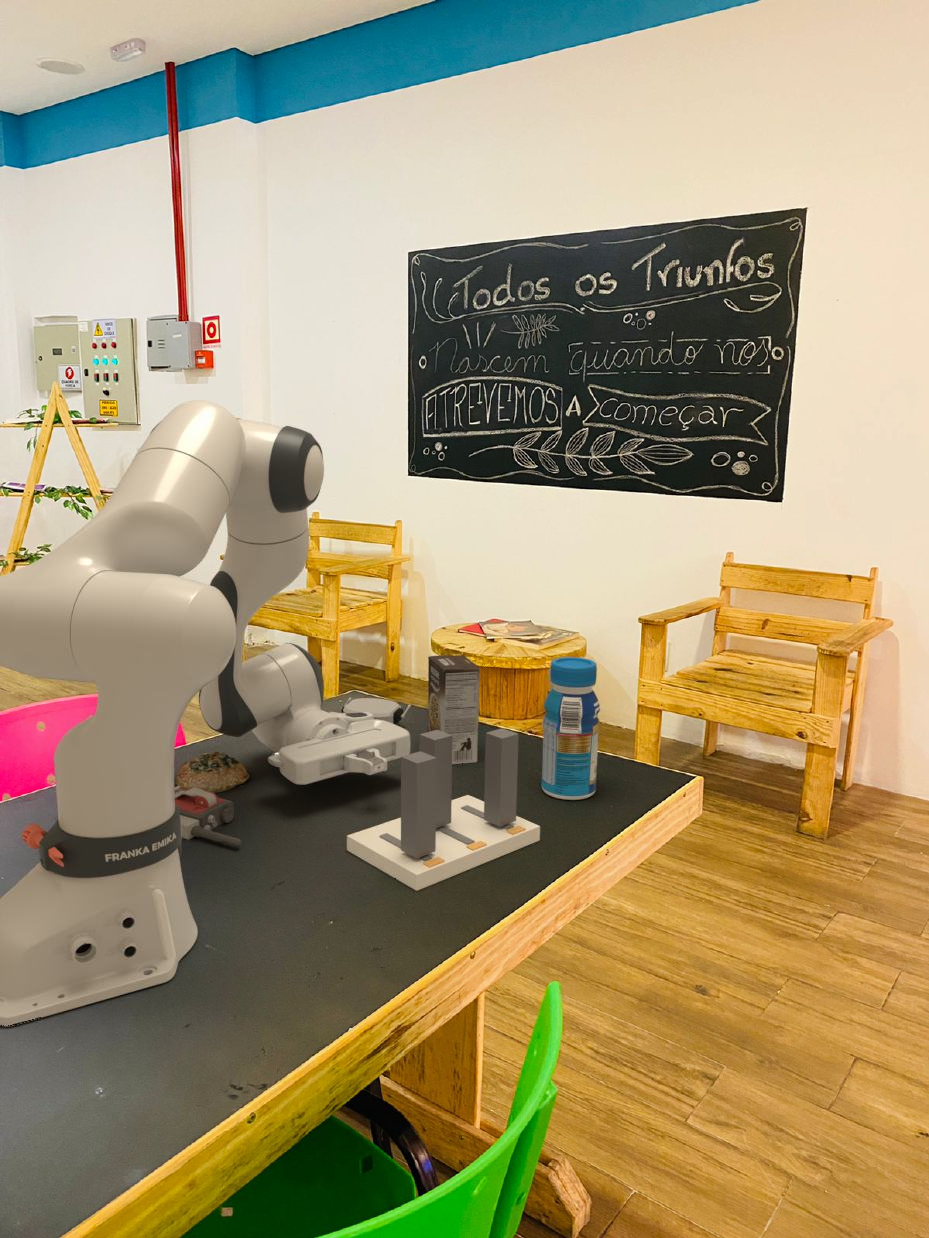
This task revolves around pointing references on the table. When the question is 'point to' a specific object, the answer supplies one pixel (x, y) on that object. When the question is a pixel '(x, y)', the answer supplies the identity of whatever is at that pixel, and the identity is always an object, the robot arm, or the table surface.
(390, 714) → the robot toy
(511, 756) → the right switch
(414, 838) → the tall grey switch
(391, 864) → the switch bank
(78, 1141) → the table surface
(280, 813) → the table surface
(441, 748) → the grey rectangular pillar
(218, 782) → the bread roll
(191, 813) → the walkie-talkie
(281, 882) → the table surface
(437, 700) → the coffee box
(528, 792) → the table surface
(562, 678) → the beverage bottle
